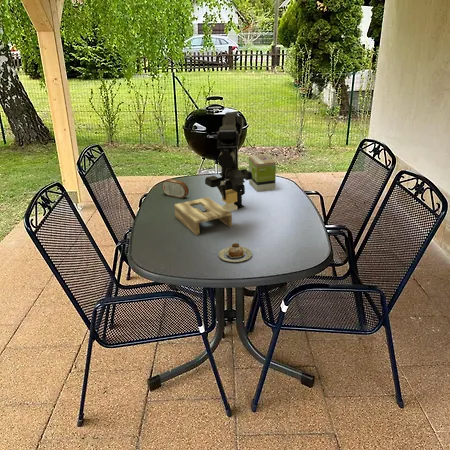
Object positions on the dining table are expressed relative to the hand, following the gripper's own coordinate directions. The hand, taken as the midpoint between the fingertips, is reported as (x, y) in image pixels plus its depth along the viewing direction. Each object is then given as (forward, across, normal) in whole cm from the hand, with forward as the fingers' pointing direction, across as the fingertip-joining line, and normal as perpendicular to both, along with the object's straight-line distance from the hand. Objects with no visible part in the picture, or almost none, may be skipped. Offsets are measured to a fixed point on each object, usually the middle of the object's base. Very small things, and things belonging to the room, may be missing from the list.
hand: (229, 198), depth 174 cm
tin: (+12, -4, +46) cm, 48 cm away
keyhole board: (+12, -8, +10) cm, 17 cm away
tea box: (+13, +39, +34) cm, 53 cm away
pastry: (+12, -12, -24) cm, 30 cm away
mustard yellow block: (+4, 0, 0) cm, 4 cm away
